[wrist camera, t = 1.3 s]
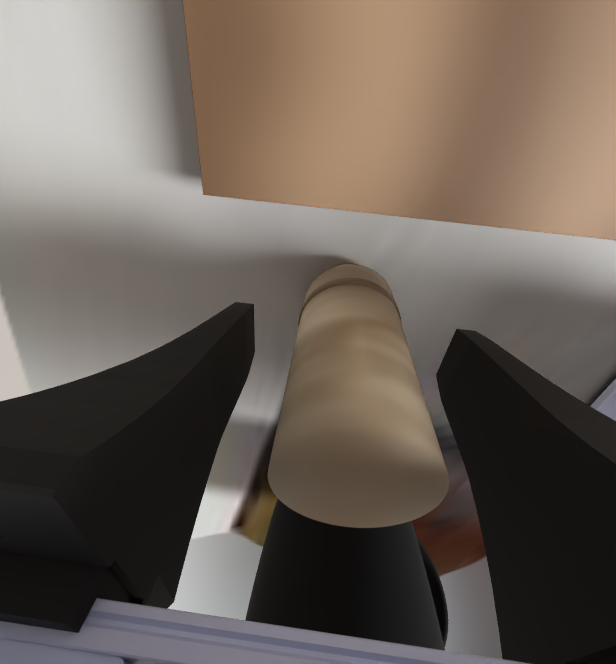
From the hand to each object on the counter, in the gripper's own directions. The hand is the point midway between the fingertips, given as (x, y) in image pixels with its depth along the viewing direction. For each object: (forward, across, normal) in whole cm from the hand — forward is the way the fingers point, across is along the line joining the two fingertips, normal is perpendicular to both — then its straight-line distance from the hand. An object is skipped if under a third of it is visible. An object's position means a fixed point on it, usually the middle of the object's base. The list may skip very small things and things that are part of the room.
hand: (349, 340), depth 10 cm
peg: (+3, 0, 0) cm, 3 cm away
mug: (+4, -3, +14) cm, 15 cm away
